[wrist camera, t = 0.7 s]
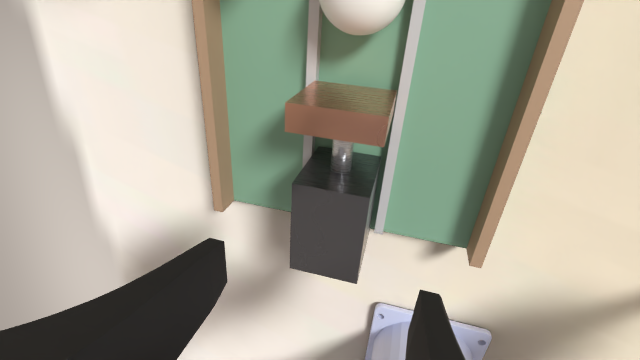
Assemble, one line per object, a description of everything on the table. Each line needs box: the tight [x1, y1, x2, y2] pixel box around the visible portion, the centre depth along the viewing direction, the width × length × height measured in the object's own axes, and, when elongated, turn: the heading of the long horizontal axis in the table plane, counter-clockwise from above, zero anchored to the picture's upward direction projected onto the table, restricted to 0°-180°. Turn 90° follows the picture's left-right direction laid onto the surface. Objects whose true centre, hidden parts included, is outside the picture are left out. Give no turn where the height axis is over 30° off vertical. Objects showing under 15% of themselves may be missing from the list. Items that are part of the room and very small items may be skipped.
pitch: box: [192, 0, 584, 268], centre depth 15 cm, size 19×16×6 cm
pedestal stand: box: [285, 81, 397, 284], centre depth 17 cm, size 9×4×5 cm, turn 176°
